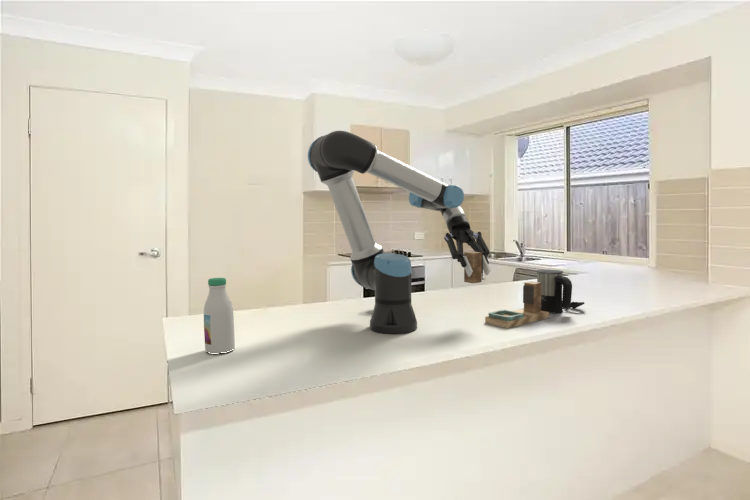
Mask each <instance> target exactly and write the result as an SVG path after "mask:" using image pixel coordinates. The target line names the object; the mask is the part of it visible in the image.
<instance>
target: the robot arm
mask: <svg viewBox="0 0 750 500" xmlns="http://www.w3.org/2000/svg"><path fill="white" fill-rule="evenodd" d="M307 161H308V164H309V166H310V167H311V168H312V170H314V171H315V172H316V173H317V175H318V177H319V180H320V183H322V184H324V185H326V186H327V188H328V191H329V194H330V195H331V199H332V201H333V203H334V206H335V208H336V212H337V214H338V217H339V220H340V223H341V225H342V228H343V229H344V234H345V235H346V239H347V241H348V244H349V246H350V250H351V255H350V258H349V260H350V261H351V264H352V265H351V266H350V272H351V276H352V279H353V280H354V282H355V283H356V284H357V285H359V286H361V287H362V288H365V289H368V290H372V291H374V307H373V311H372V313H371V317H370V320H369V329H370V330H371V331H372V332H376V333H379V334H407V333H411V332H414V331H416V330H417V329H418V321H417V318H416V314H415V311H414V308H413V304H412V272H413V270H412V269H413V268H412V261H411V259H410V258H409V257H408V256H406V255H404V254H400V253H392V252H391V253H389V252H385V251H384V249H383V246H382V245H381V244H378V243H377V242H376V239H375V236H374V234H373V231H372V228H371V225H370V222H369V219H368V217H367V215H366V212H365V208H364V206H363V203H362V200H361V198H360V194H359V192H358V189H357V186H356V183H355V181H354V178H353V175H354V172H358V173H360V174H363V175H364V174H366V173H368V174H370V175H372V176H373V177H376V178H379V179H381V180H383V181H384V182H387V183H389V184H391V185H394V186H395V187H398V188H400V189H402V190H404V191H407V192H408V193H409V194H408V201H409V204H410V205H411V206H412V207H415V208H418V209H419V208H420V209H426V210H430V211H437V212H440V213H441V216H442V217H443V220H444V222H445V225H446V227H447V230H448V232H446V233H445V235H444V238H443V239H444V240H445V241H444V242H446V243H447V247H448V250H449V253H450V255H451V258H452V259H453V260H456V261H457V262H458V263H460V265H461V267H462V268H463V269H464V268H465V270H466V273H467V275H468V277H469V276H471V274H472V272H473V270H472V268H471V266H470V263H469V261H468V259H467V256H464V244H467V245H468V246H469V247H470V248H471V249H472V250H473V252H482V255H483V273H484V275H485V276H488V275H489V274H490V272H491V268H490V265H489V263H490V261H489V259H488V257H489V254H490V253H491V252H490V249H489V248H488V246H487V244H486V242H485V240H484V238H483V237H482V236H483V235H482V232H481V231H478V232H474V231H473V229H471V224H470V222H469V220H468V218H467V215H466V213H465V211H464V209H463V208H462V204H463V202H464V198H465V193H464V190H463V188H462V187H461V186H459V185H457V184H447V183H445V182H443V181H440V180H438V179H436V178H434V177H432V176H431V175H429V174H426V173H424V172H423V171H420V170H418V169H416V168H415V167H413V166H411V165H409V164H407V163H406V162H403V161H401V160H399V159H397V158H395V157H392V156H391V155H388V154H387V153H384V152H383V151H381V150H379V149H378V147H377V145H376V144H375V143H372V142H371V141H369V140H367V139H365V138H362V137H361V136H359V135H356V134H354V133H352V132H349V131H346V130H334V131H331V132H330V133H328V134H324V135H321V136H319V137H318V138H316V139H315V140H314V141H312V143H311V144H310V146H309V147H308V151H307ZM454 240H455V241H454Z"/></svg>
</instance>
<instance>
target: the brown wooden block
mask: <svg viewBox="0 0 750 500" xmlns="http://www.w3.org/2000/svg"><path fill="white" fill-rule="evenodd" d="M463 253H464V256H467V259H468V261H469V263H470V266H471V268H472V270H473V272H472V274H471V276H469V277H468V275H467V273H466V270H465V268H464V267H463V271H464V272H463V275H464V277H463V279H464V280H463V281H464V283H468V284H477V283H482V278H483V277H482V274H483V273H484V270H483V255H482V252H475V251H474V250H473V251H472V250H471V251H463ZM464 256H463V257H464Z"/></svg>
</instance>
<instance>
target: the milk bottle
mask: <svg viewBox="0 0 750 500" xmlns="http://www.w3.org/2000/svg"><path fill="white" fill-rule="evenodd" d="M207 285H208V286H207V287H208V289H209V291H208V295H207V298H206V301H205V303H204V306H203V331H204V333H203V334H204V349H205V352H206V351H207V352H210V353H221V352H227V351H230V350H232V349H234V350H235V349H236V346H235V345H236V344H235V343H236V342H235V341H236V340H235V338H236V337H235V319H234V317H235V316H234V307H233V304H232V301H231V299H230V297H229V295H228V293H227V289H226V286H227V279H226V278H225V277H212V278H209V279H207Z"/></svg>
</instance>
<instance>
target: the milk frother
mask: <svg viewBox="0 0 750 500" xmlns="http://www.w3.org/2000/svg"><path fill="white" fill-rule="evenodd" d="M563 273H564V271H563V270H560V269H538V270H536V275H537V276H536V277H537V278H536V279H537V281H536V282H540V283H541V311H546V312H549V314H550V313H551V314H555V313H557V314H559V313H563V312H564V310H567V309H571V308H572V309H573V310H575V309H577V308H579V307H581V306H583V305H585V302H584V301H581V302H580V301H572V295H573V292H572V291H573V285H572V284H573V283H572V281H571V279H570V278H569V277H567V276H565V275H564V276H563Z"/></svg>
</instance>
